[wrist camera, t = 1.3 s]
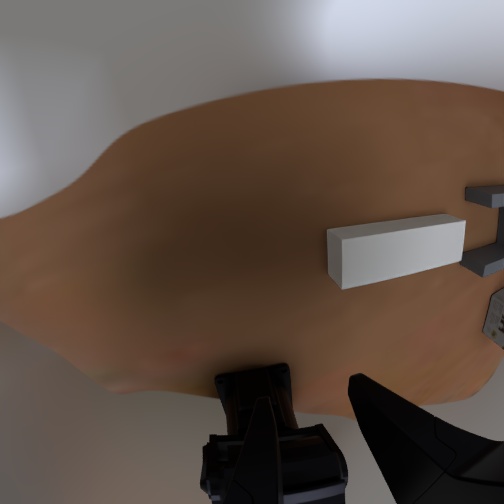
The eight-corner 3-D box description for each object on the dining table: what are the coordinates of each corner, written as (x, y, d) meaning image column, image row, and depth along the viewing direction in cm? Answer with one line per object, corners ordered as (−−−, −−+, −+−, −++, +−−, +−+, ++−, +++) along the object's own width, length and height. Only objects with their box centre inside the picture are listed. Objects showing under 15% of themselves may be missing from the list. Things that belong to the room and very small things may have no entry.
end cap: (500, 250, 23) (521, 260, 20) (460, 264, 22) (482, 277, 19) (506, 185, 20) (528, 191, 17) (465, 187, 20) (492, 194, 17)
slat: (440, 249, 22) (461, 260, 19) (326, 272, 21) (341, 289, 18) (443, 212, 21) (465, 220, 18) (325, 228, 20) (341, 239, 17)
